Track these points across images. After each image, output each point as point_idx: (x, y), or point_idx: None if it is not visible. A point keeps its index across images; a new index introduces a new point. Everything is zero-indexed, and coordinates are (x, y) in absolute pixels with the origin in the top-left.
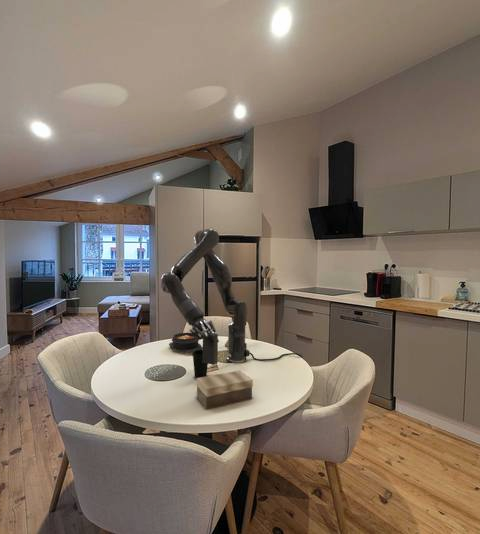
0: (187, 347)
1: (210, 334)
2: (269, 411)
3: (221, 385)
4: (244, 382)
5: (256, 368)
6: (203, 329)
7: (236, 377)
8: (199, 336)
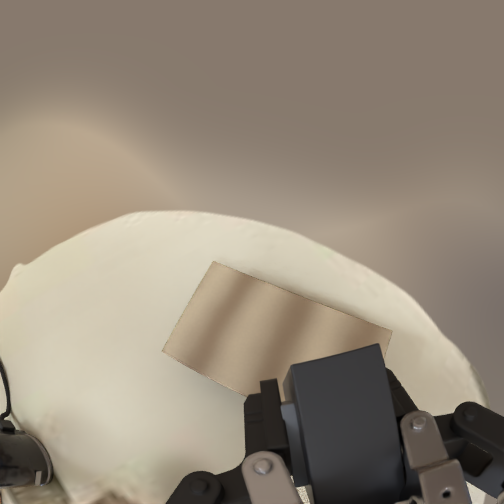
0: None
1: (380, 412)
2: (256, 222)
3: (335, 313)
4: (245, 275)
5: (46, 383)
6: (462, 477)
7: (233, 318)
8: (460, 458)
